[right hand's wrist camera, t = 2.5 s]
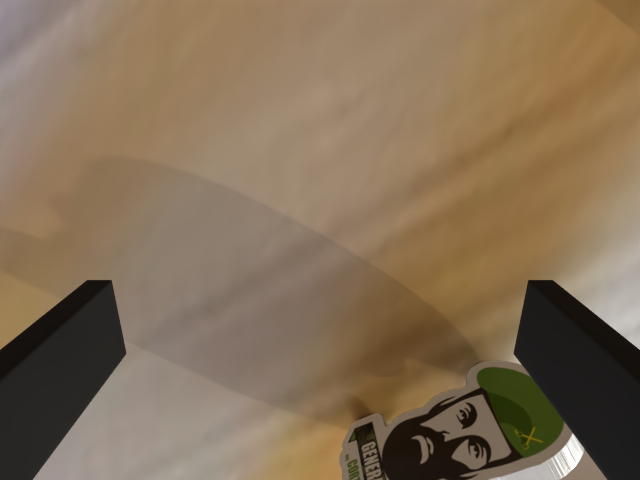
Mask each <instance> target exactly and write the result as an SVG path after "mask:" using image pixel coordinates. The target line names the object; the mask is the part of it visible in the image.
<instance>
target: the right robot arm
mask: <svg viewBox="0 0 640 480" xmlns="http://www.w3.org/2000/svg"><path fill="white" fill-rule="evenodd" d="M125 355H126V349H125V344H124V339H123V334H122V329H121V324H120V320H119V315H118V310H117V305H116V300H115V295H114V290H113V285H112V280H87V281H86V282H84V283H83V284H82V285H81V286H79V287H78V288H77V289H76V290H74V291H73V292H72V293H71V294H69V295H68V296H67V297H66V298H64V299H63V300H62V301H61V302H59V303H58V304H57V305H56V306H54V307H53V308H52V309H51V310H49V311H48V312H47V313H46V314H44V315H43V316H42V317H41V318H39V319H38V320H37V321H36V322H35V323H33V324H32V325H31V326H30V327H28V328H27V329H26V330H25V331H23V332H22V333H21V334H20V335H18V336H17V337H16V338H15V339H13V340H12V341H11V342H10V343H8V344H7V345H6V346H5V347H3V348H2V349H1V350H0V480H33V478H34V477H35V476H36V474H37V473H38V472H39V470H40V469H41V468H42V466H43V465H44V464H45V462H46V461H47V460H48V458H49V457H50V456H51V454H52V453H53V452H54V450H55V449H56V448H57V446H58V445H59V444H60V442H61V441H62V439H63V438H64V437H65V435H66V434H67V433H68V431H69V430H70V429H71V427H72V426H73V425H74V423H75V422H76V421H77V419H78V418H79V417H80V415H81V414H82V413H83V411H84V410H85V409H86V407H87V406H88V405H89V403H90V402H91V401H92V399H93V398H94V396H95V395H96V394H97V392H98V391H99V390H100V388H101V387H102V386H103V384H104V383H105V382H106V380H107V379H108V378H109V376H110V375H111V374H112V372H113V371H114V370H115V368H116V367H117V366H118V364H119V363H120V362H121V360H122V359H123V358H124V356H125ZM514 355H515V356H516V358H517V359H518V360H519V362H520V363H521V364H522V366H523V367H524V368H525V370H526V371H527V372H528V374H529V375H530V376H531V378H532V379H533V380H534V382H535V383H536V384H537V386H538V387H539V388H540V390H541V391H542V392H543V394H544V395H545V396H546V398H547V399H548V401H549V402H550V403H551V405H552V406H553V407H554V409H555V410H556V411H557V413H558V414H559V415H560V417H561V418H562V419H563V421H564V422H565V423H566V425H567V426H568V427H569V429H570V430H571V431H572V433H573V434H574V435H575V437H576V438H577V439H578V441H579V442H580V444H581V445H582V446H583V448H584V449H585V450H586V452H587V453H588V454H589V456H590V457H591V458H592V460H593V461H594V462H595V464H596V465H597V466H598V468H599V469H600V470H601V472H602V473H603V474H604V476H605V477H606V478H607V480H640V350H639V349H638V348H637V347H635V346H634V345H633V344H632V343H630V342H629V341H628V340H627V339H625V338H624V337H623V336H622V335H620V334H619V333H618V332H617V331H615V330H614V329H613V328H612V327H610V326H609V325H608V324H607V323H605V322H604V321H603V320H602V319H601V318H599V317H598V316H597V315H596V314H594V313H593V312H592V311H591V310H589V309H588V308H587V307H586V306H584V305H583V304H582V303H581V302H579V301H578V300H577V299H576V298H574V297H573V296H572V295H571V294H569V293H568V292H567V291H566V290H564V289H563V288H562V287H561V286H559V285H558V284H557V283H556V282H554V281H553V280H528V285H527V290H526V295H525V300H524V305H523V310H522V315H521V320H520V324H519V329H518V334H517V339H516V344H515V349H514Z"/></svg>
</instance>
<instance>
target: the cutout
mask: <svg viewBox="0 0 640 480" xmlns="http://www.w3.org/2000/svg"><path fill="white" fill-rule="evenodd" d="M342 448H343V450H342V452H341V454H340V458H339V464H340V467H341V471H342V480H559V479H561V478H562V477H564V476H566V475H567V474H568V473H569V472H570V471H571V470H572V469H573V468H574V467H575V466H576V465H577V463H578V462H579V460H580V458H581V457H582V454H583V451H584V448H583V446H582V445H581V444H580V442H579V441H578V439H577V438H576V437H575V435H574V434H573V433H572V431H571V430H570V429H569V427H568V426H567V425H566V423H565V422H564V421H563V419H562V418H561V417H560V415H559V414H558V413H557V411H556V410H555V409H554V407H553V406H552V405H551V403H550V402H549V401H548V399H547V398H546V396H545V395H544V394H543V392H542V391H541V390H540V388H539V387H538V386H537V384H536V383H535V382H534V380H533V379H532V378H531V376H530V375H529V374H528V372H527V371H526V370H525V368H524V367H523V366H522V365H520V364H517V363H512V362H507V361H499V360H498V361H485V362H481V363H479V364H477V365H475V366H473V367H472V368H471V369H470V370H469V371H468V373H467V375H466V386H464V387H462V388H458V389H450V390H448V391H445V392H442V393H440V394H439V395H436V396H435V397H433V398H432V399H430V400H429V401H428V402H427V403H426V404H425V405H424V406H423V407H420V408H417V409H414V410H410V411H407V412H404V413H402V414H401V415H399V416H397V417H396V418H394V419H393V420H392V421H391V422H390V423H389V424H388V423H387V422H386V420H385V419H384V417H383V416H382V415H381V414H379V413H374V414H372V415H369V416H367V417H364V418H362V419H359V420H357V421H355V422H354V423H352V425H351V426H350V428H349V431H348V433H347V435H346V436H345V439H344V440H343V443H342Z"/></svg>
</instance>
